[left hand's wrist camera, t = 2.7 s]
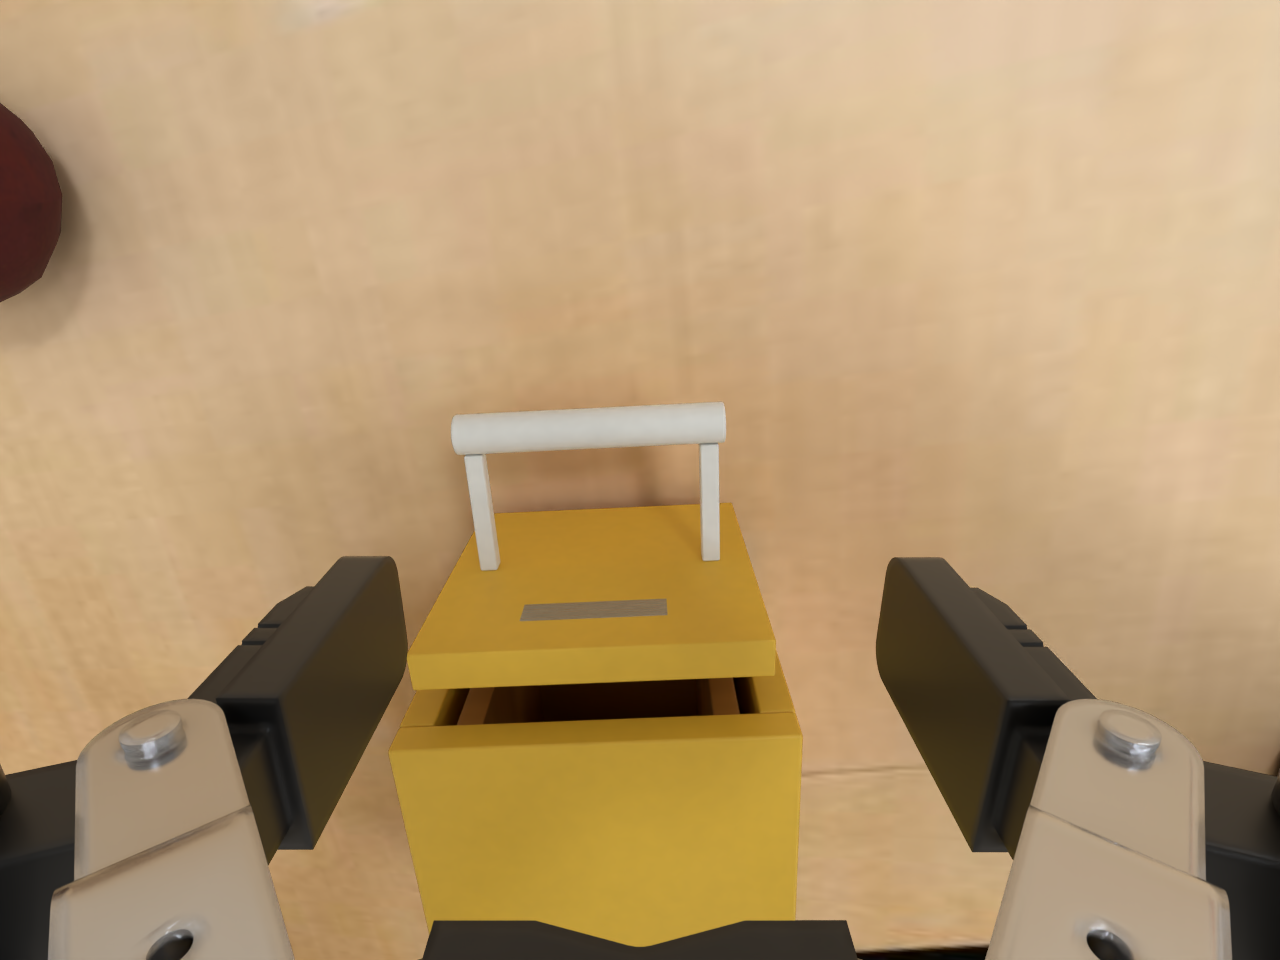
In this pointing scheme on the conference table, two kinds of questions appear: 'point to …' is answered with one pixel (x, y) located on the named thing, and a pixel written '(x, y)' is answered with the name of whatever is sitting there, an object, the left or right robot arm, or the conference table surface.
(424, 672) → the drawer
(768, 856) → the yellow box
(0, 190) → the potato
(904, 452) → the conference table surface
